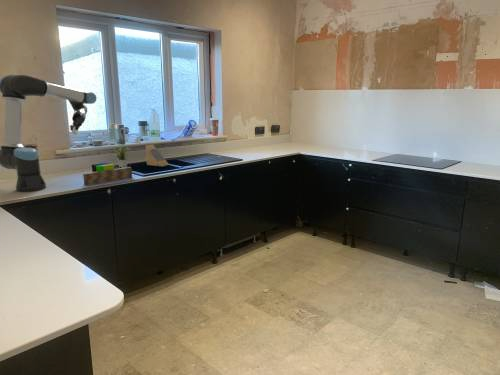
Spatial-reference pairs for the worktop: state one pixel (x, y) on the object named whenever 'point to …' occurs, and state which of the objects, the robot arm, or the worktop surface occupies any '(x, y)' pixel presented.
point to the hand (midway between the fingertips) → (74, 132)
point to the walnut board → (107, 176)
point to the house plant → (122, 158)
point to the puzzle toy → (102, 167)
